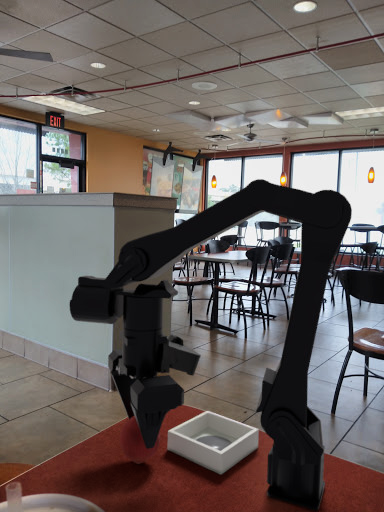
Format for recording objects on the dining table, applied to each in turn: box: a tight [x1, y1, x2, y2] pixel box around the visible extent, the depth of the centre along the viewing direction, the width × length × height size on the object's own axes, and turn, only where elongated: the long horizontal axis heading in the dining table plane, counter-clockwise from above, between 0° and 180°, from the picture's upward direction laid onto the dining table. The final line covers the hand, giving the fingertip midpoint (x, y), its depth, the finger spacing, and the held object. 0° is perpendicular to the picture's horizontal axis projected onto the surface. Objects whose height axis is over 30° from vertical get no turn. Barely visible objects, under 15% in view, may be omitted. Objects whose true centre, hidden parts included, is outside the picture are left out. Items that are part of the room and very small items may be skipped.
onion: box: [119, 416, 161, 465], centre depth 61 cm, size 6×6×8 cm
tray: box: [166, 410, 259, 476], centre depth 66 cm, size 10×10×3 cm
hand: (140, 432), depth 61 cm, fingers open, 9 cm apart
